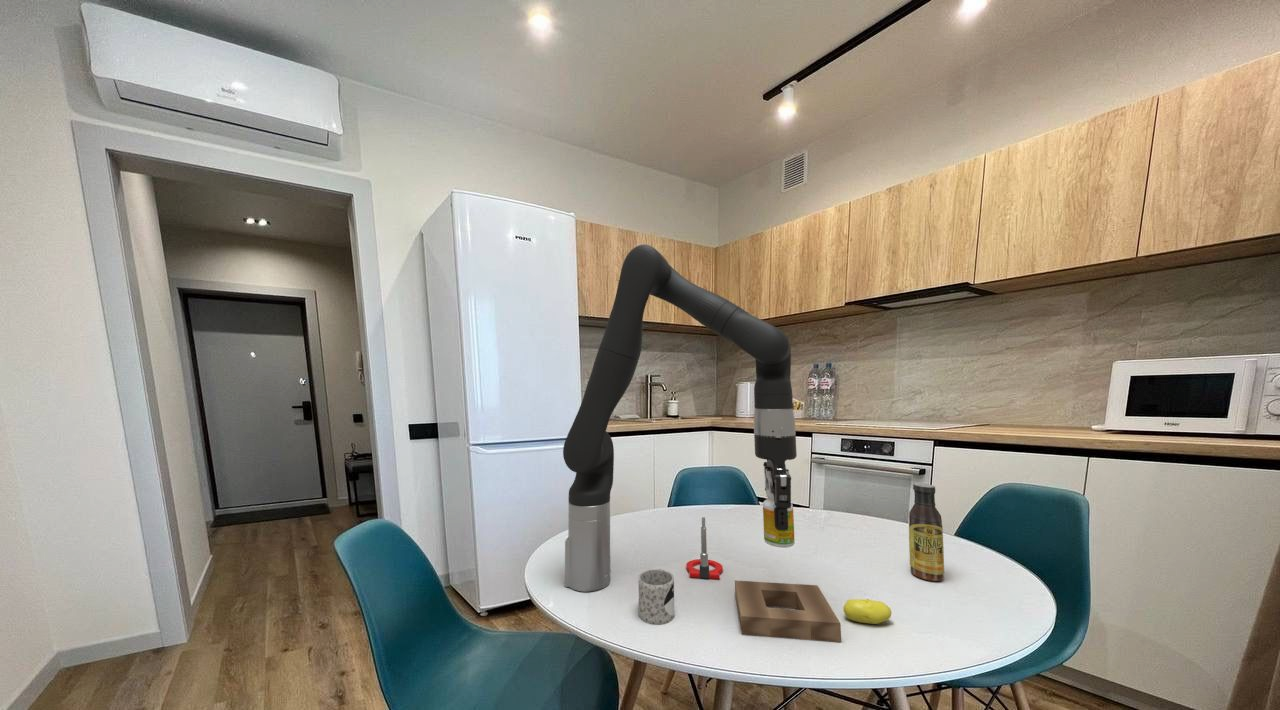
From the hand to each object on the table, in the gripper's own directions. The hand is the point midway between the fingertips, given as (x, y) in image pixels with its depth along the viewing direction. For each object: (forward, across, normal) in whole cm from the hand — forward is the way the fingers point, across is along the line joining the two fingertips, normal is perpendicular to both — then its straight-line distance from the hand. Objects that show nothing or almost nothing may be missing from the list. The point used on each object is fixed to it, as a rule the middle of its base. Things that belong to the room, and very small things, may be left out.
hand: (778, 523), depth 74 cm
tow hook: (+17, -18, -14) cm, 28 cm away
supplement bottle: (+4, 0, 0) cm, 4 cm away
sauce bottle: (+17, -20, +35) cm, 44 cm away
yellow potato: (+17, 0, +15) cm, 23 cm away
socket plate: (+17, 0, 0) cm, 17 cm away
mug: (+17, 0, -23) cm, 28 cm away
